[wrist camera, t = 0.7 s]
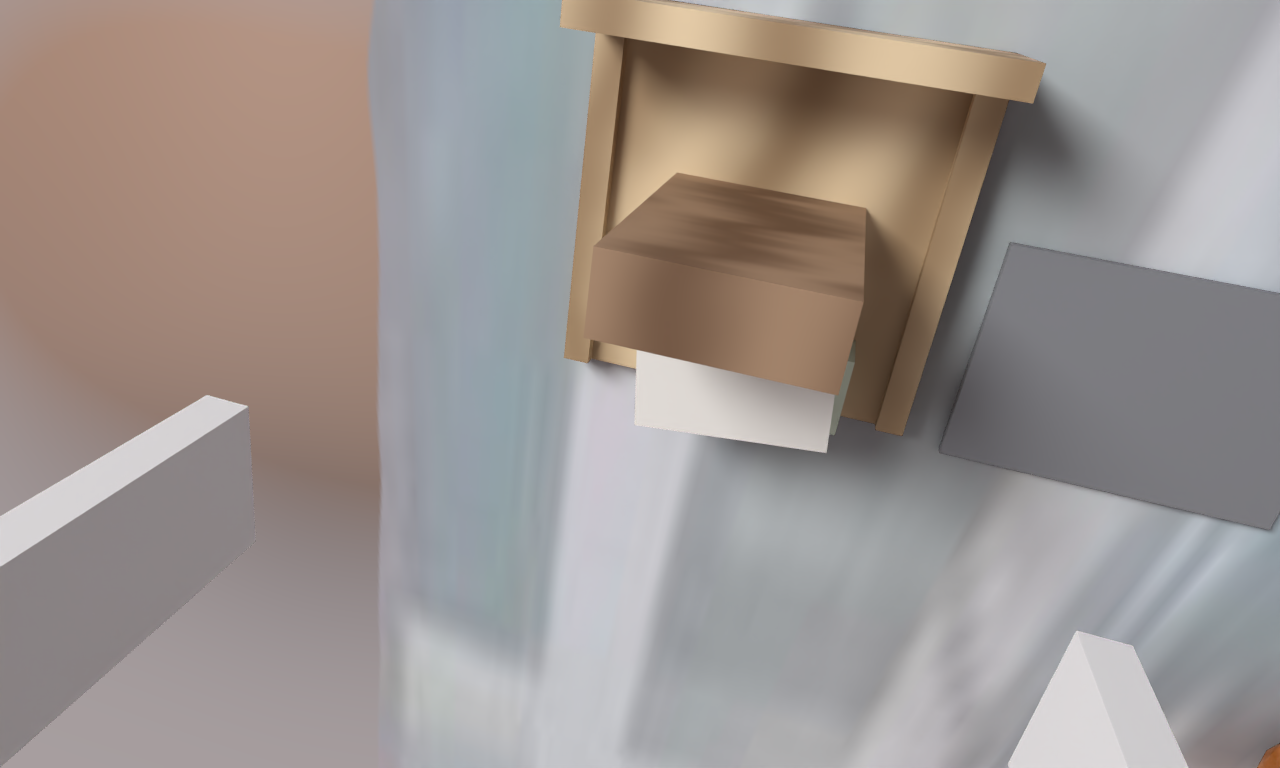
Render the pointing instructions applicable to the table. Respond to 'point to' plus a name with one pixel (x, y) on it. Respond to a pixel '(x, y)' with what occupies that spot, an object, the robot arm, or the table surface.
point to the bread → (1271, 758)
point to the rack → (799, 152)
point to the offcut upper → (729, 404)
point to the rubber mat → (1127, 384)
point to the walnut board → (734, 281)
